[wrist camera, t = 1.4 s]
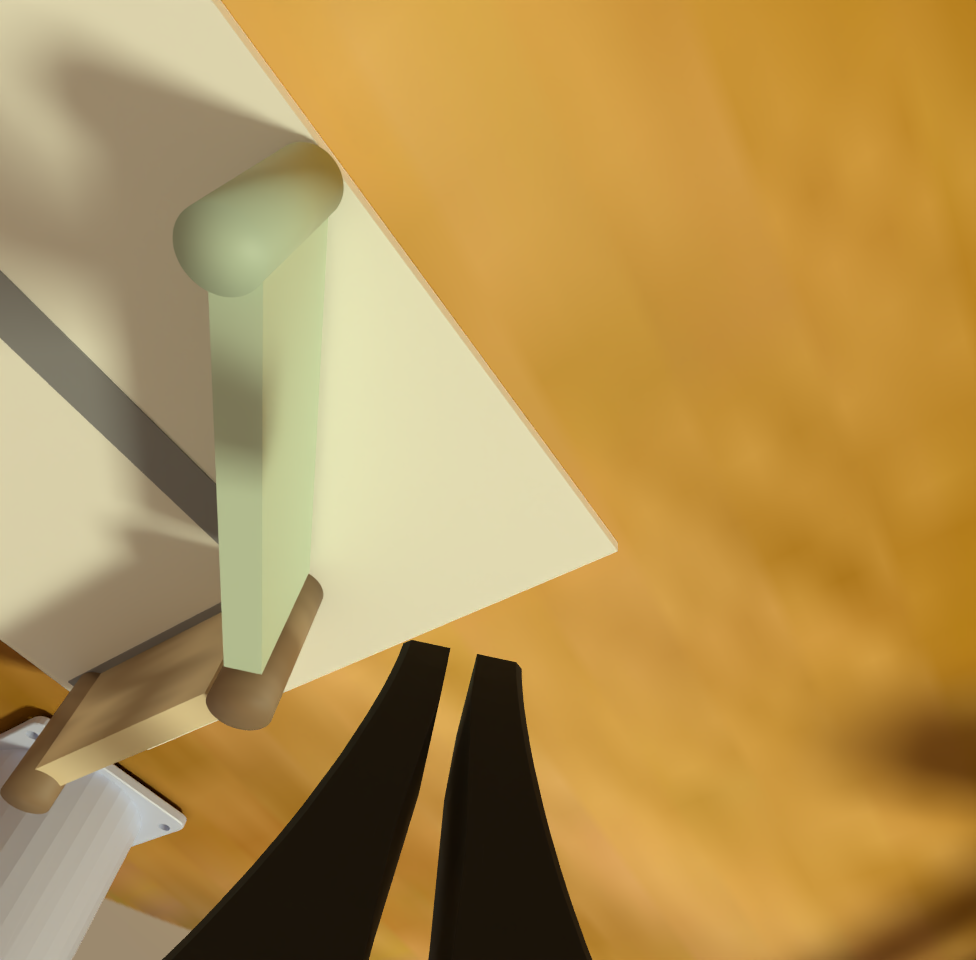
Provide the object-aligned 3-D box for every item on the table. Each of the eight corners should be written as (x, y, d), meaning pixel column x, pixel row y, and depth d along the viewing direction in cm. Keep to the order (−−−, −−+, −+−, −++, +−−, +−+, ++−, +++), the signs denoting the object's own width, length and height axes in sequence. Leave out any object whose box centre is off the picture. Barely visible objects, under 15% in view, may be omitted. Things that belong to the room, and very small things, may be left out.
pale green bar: (318, 573, 23) (264, 695, 19) (267, 562, 23) (202, 681, 19) (345, 150, 16) (268, 213, 12) (271, 134, 16) (168, 191, 12)
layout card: (152, 741, 30) (147, 751, 30) (-366, 349, 22) (-383, 356, 22) (617, 541, 22) (617, 552, 21) (58, -222, 13) (42, -228, 13)
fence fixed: (107, 706, 29) (34, 820, 25) (69, 677, 28) (-13, 790, 24) (334, 598, 24) (285, 718, 20) (296, 559, 23) (238, 677, 19)
